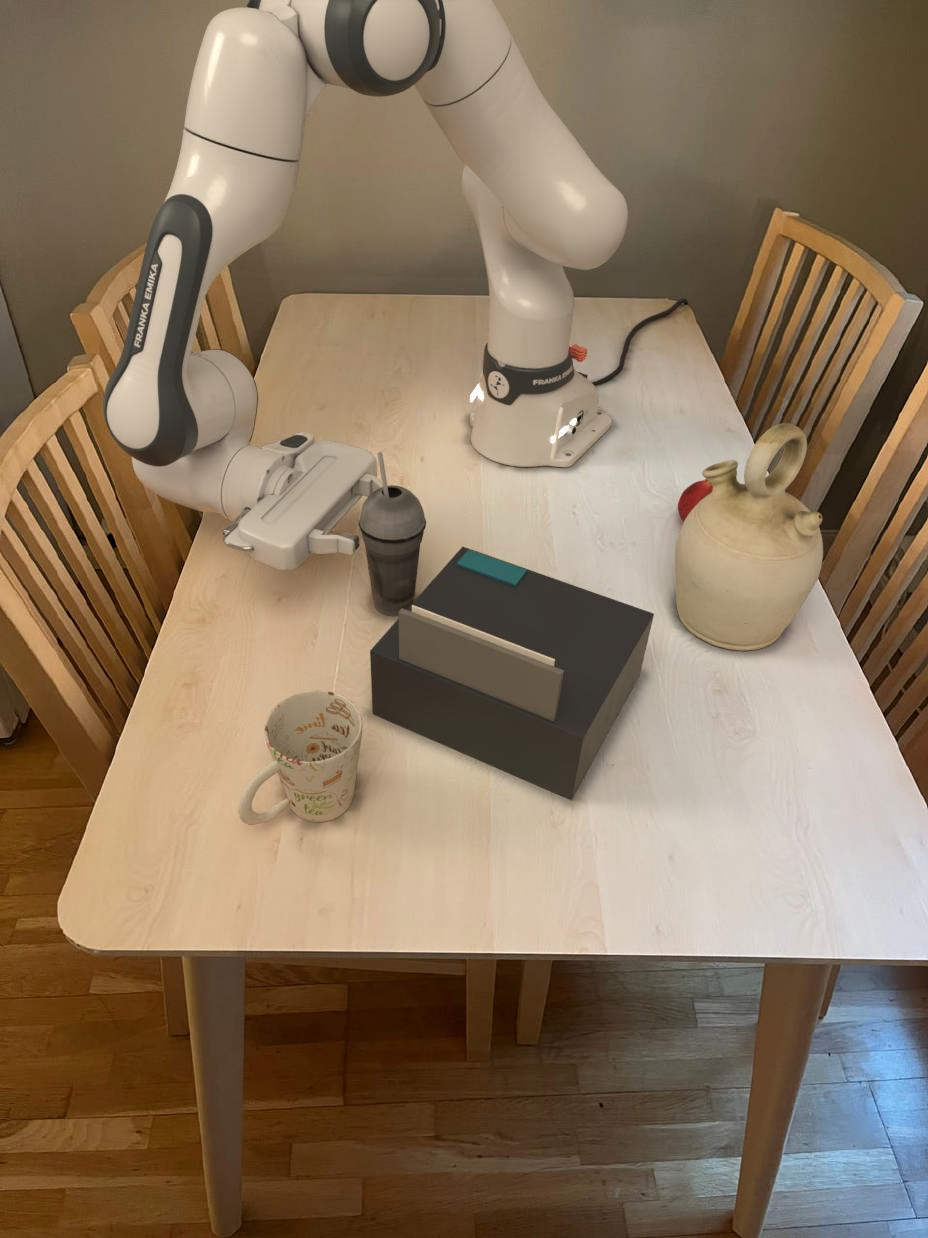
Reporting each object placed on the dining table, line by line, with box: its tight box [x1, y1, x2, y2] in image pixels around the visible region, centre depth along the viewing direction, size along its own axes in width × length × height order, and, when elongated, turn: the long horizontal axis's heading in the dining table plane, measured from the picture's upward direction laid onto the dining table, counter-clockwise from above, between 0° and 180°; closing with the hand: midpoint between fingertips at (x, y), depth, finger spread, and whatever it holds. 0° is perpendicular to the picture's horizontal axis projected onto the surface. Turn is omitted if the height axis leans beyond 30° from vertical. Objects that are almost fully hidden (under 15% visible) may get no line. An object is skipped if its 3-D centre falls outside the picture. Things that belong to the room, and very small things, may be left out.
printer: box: [369, 546, 655, 801], centre depth 92 cm, size 19×22×16 cm
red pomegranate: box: [677, 478, 713, 523], centre depth 118 cm, size 6×6×8 cm
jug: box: [674, 422, 824, 652], centre depth 99 cm, size 15×16×25 cm
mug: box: [238, 689, 363, 826], centre depth 82 cm, size 8×13×10 cm, turn 138°
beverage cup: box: [358, 451, 427, 617], centre depth 100 cm, size 7×7×20 cm
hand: (376, 521), depth 100 cm, fingers open, 8 cm apart
